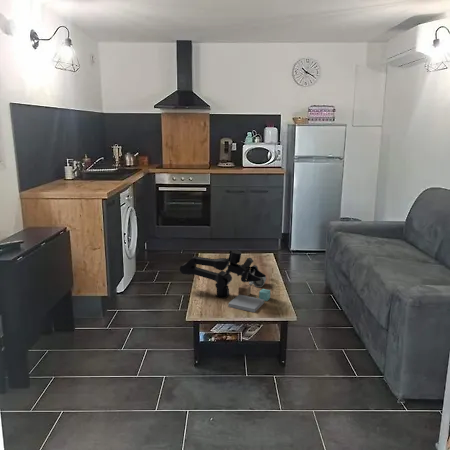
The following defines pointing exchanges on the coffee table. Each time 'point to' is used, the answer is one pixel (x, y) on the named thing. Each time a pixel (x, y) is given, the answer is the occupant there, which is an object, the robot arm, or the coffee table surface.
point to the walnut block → (244, 290)
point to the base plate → (246, 303)
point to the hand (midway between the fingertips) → (263, 278)
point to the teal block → (264, 294)
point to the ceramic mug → (258, 282)
